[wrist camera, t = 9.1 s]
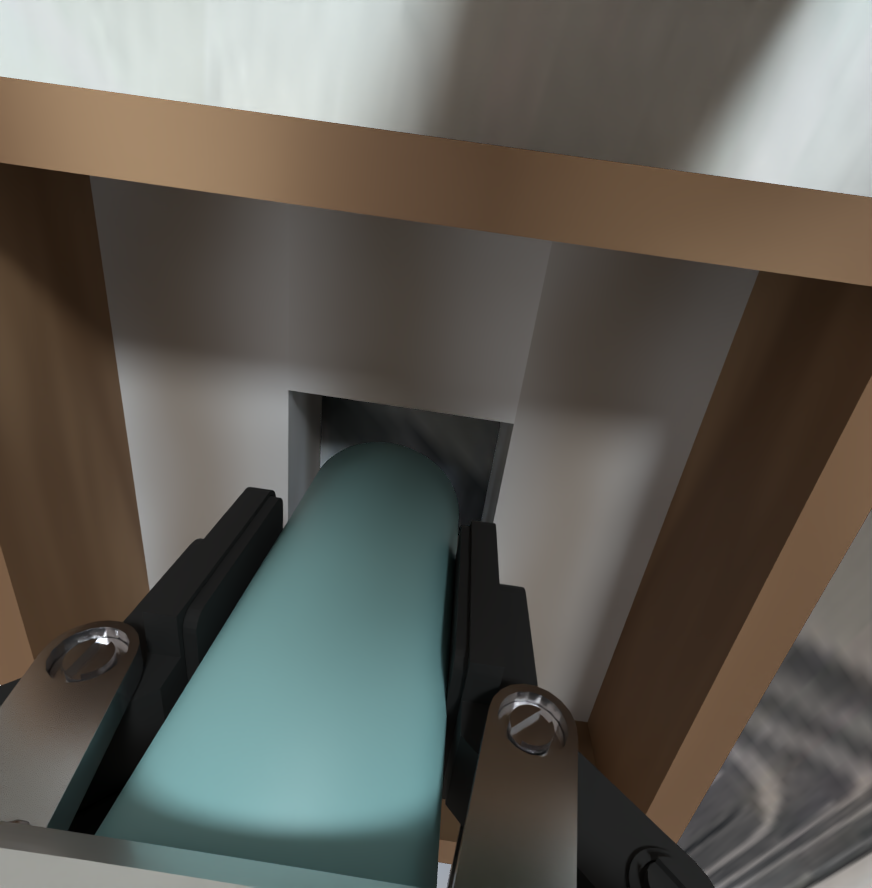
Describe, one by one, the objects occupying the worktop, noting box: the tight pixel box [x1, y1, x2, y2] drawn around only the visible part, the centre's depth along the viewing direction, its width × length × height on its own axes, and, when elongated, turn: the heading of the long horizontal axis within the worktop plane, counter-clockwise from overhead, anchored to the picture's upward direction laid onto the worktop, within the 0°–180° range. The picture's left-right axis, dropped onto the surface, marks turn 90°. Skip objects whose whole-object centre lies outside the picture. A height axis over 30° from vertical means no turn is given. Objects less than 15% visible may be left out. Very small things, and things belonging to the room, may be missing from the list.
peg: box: [95, 442, 459, 888], centre depth 9 cm, size 4×4×10 cm
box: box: [0, 77, 872, 864], centre depth 13 cm, size 16×16×7 cm
